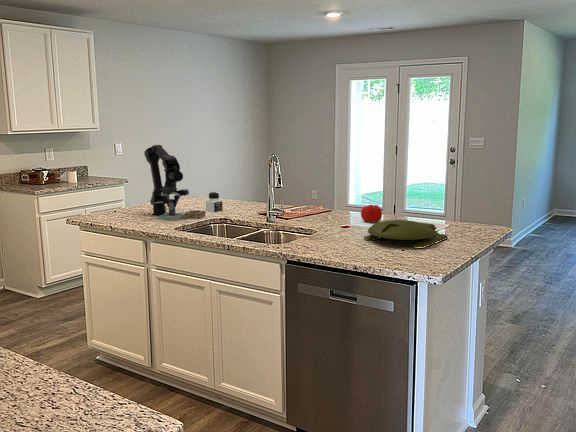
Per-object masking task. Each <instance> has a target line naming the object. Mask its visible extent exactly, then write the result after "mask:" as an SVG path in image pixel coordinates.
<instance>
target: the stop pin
mask: <svg viewBox="0 0 576 432" xmlns="http://www.w3.org/2000/svg"><path fill="white" fill-rule="evenodd" d="M168 204H169V207H168V213H169V216H170V217H176V216H175V213H176V207H174V198H169V199H168Z"/></svg>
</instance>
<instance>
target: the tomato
mask: <svg viewBox="0 0 576 432" xmlns="http://www.w3.org/2000/svg"><path fill="white" fill-rule="evenodd" d="M382 216H383V212H382V208H380V206H379V205H378V204H375V205H373V204H368V205H365V206H363V207H362V208H361V211H360V217H361V219H362V220H363V221H364V222H368V223H369V222H371V223H378V222H380V221H381V220H382Z"/></svg>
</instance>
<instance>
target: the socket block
mask: <svg viewBox="0 0 576 432" xmlns="http://www.w3.org/2000/svg"><path fill="white" fill-rule="evenodd" d="M204 217H206V210H193V209H192V210H188V211H186V212H185V217H184V219H188V220H189V219H192V220H196V219H197V220H201V219H203V218H204Z"/></svg>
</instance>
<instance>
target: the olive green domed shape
mask: <svg viewBox="0 0 576 432" xmlns="http://www.w3.org/2000/svg"><path fill="white" fill-rule="evenodd" d="M367 232H368V235H365V236H364V237H363V240H365V239H367V240H373V239H376V240H378V239H377V238H379V237H381V238H379V239H388V240H398V241H399V240H403V241H407V240H409V241H412V240H421V241H419V242H416V243H414V244H413V246H414V247H424V246H427V245H430V244H432V243H435V242H437V241H440V240H443V239H445V238H447V237H448V235H447V234H443V233H439V232H438V231H437V227H436V226H435V224H434V223H425V222H421V221H420V222H419V221H414V220H409V219H408V220H406V219H389V220H383V221H378V222H375V223H373V224H372V225H371V226H369V228H368V229H367ZM422 239H423V240H422ZM447 239H448V238H447ZM445 240H446V239H445ZM373 241H374V240H373ZM443 241H444V240H443ZM440 242H441V241H440ZM413 246H412V247H413ZM414 247H413V248H414Z"/></svg>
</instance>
